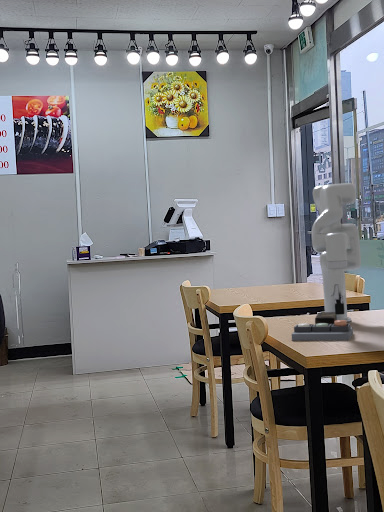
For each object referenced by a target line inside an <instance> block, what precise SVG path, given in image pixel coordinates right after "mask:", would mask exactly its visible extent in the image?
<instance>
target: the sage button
mask: <svg viewBox="0 0 384 512" xmlns="http://www.w3.org/2000/svg"><path fill="white" fill-rule="evenodd" d="M324 326H328V324H327V323H319V324H316V327H324Z"/></svg>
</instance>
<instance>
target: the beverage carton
mask: <svg viewBox="0 0 384 512" xmlns="http://www.w3.org/2000/svg"><path fill="white" fill-rule="evenodd" d="M336 320H337V317H336V314H335V312H325V310H322V311H320V312H318V313H317V315H316V316H315V318H314V325H315V324H319V323H327V324H332V325H333V324H335V321H336Z"/></svg>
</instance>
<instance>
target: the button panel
mask: <svg viewBox="0 0 384 512" xmlns="http://www.w3.org/2000/svg"><path fill="white" fill-rule="evenodd" d="M298 324H299V323H298ZM298 324H296V325H294V327H293V332H292V333H291V341H301V342H302V341H349V340H350V339H351V338H352V336H353V334H354V330H353V327H352V326H351V323H347V326H335V324H333V325H332V324H328V326H324V327H316V324H315V323H314V324H313V323H311V324H310V323H309V324H310V327H298Z"/></svg>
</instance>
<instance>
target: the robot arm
mask: <svg viewBox="0 0 384 512" xmlns="http://www.w3.org/2000/svg"><path fill="white" fill-rule="evenodd" d="M356 191H357V190H356V187H355V186H354V184H353V183H351V182H344V183H329V184H320V185H318V186H315V187H314V188H313V189H312V198H313V203H314V205H315V207H316V208H317V211H318V214H319V216H318V217H317V218H316V219H315V220H314V222H313V224H312V227H311V244H312V249H313V250H314V251H315V252H316V253H320V255H319V264H320V270H321V276H322V286H323V287H322V288H323V303H324V304H323V305H324V311H325V312H335V314H336V317H337V320H346V321H347V323H349V322H352V318H351V317H350V316H348V309H347V308H348V307H347V304H348V303H347V294H346V293H347V290H346V287H347V286H346V273H345V272H346V271H356V270H359V269H360V268H361V266H362V264H361V263H362V257H361V246H360V245H361V244H360V233H359V229H358V226H357V225H356V224H354V223H341V220H342V218H343V216H344V212H343V205H350V204H354V203H355V202H356V199H357V192H356Z"/></svg>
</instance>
